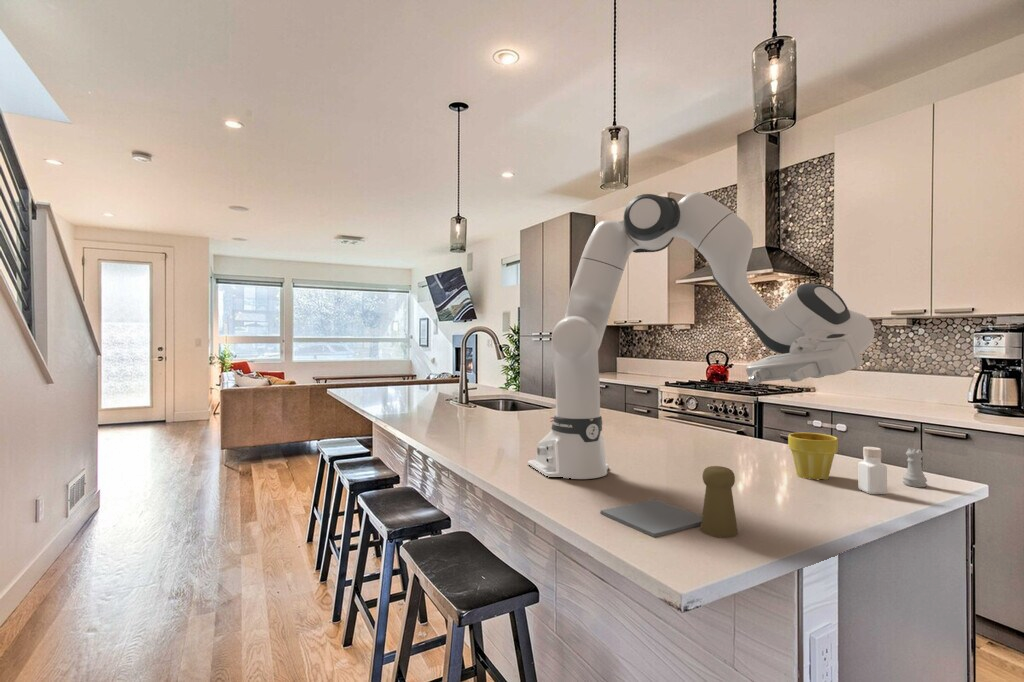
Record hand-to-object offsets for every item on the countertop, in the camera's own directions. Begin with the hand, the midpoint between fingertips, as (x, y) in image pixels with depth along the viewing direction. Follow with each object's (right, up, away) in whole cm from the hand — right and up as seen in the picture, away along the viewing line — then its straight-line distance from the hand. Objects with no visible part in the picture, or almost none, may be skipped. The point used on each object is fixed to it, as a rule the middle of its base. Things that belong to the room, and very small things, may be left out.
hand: (771, 379), depth 98 cm
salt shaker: (+28, -25, +13) cm, 40 cm away
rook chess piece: (+41, -25, +18) cm, 52 cm away
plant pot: (+23, -25, +26) cm, 43 cm away
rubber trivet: (-23, -25, -2) cm, 34 cm away
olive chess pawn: (-14, -26, -9) cm, 30 cm away
